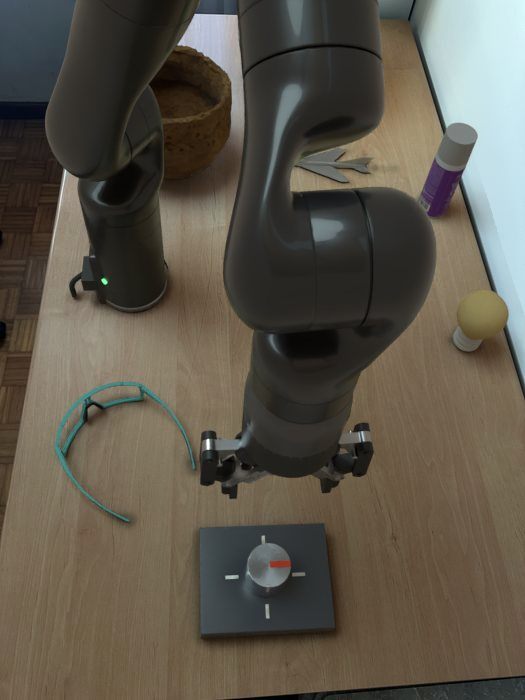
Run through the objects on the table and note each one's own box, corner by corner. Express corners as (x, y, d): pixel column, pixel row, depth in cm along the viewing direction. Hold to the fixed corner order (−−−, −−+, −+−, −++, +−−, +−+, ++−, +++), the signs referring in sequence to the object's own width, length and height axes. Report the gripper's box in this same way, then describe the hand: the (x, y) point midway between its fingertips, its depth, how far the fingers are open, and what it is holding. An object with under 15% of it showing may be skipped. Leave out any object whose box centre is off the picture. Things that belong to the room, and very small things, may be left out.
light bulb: (459, 368, 90) (486, 328, 82) (433, 332, 93) (455, 290, 84) (496, 351, 92) (526, 311, 83) (469, 316, 95) (495, 274, 86)
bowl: (130, 111, 112) (120, 29, 99) (240, 131, 111) (244, 51, 99) (96, 191, 102) (80, 111, 89) (216, 213, 102) (217, 136, 89)
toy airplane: (267, 147, 110) (268, 136, 108) (392, 153, 111) (395, 142, 109) (267, 180, 106) (269, 169, 104) (397, 186, 107) (400, 176, 105)
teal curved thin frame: (133, 376, 86) (131, 359, 81) (207, 462, 82) (210, 449, 78) (39, 442, 80) (32, 428, 76) (114, 537, 77) (111, 528, 72)
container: (444, 222, 104) (478, 147, 91) (415, 216, 104) (444, 141, 91) (446, 200, 106) (479, 125, 94) (417, 194, 107) (446, 119, 94)
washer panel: (200, 638, 70) (200, 634, 68) (199, 535, 76) (199, 527, 73) (330, 631, 72) (335, 627, 69) (320, 530, 77) (324, 522, 75)
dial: (245, 598, 70) (248, 587, 65) (244, 555, 72) (246, 543, 68) (287, 596, 70) (292, 585, 66) (284, 554, 73) (289, 541, 68)
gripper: (383, 358, 50) (347, 444, 64) (194, 366, 49) (199, 452, 63) (402, 450, 46) (360, 521, 60) (197, 461, 45) (202, 531, 59)
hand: (278, 486), depth 61 cm, fingers open, 8 cm apart
